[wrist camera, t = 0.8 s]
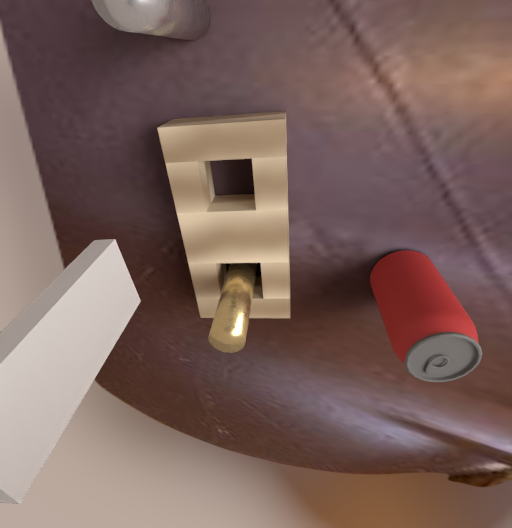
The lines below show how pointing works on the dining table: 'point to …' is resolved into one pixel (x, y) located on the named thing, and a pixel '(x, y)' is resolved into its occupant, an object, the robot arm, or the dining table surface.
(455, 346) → the beer can
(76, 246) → the dining table surface
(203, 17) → the steel pin
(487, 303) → the dining table surface
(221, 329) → the brass pin
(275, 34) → the dining table surface
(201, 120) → the pin block
